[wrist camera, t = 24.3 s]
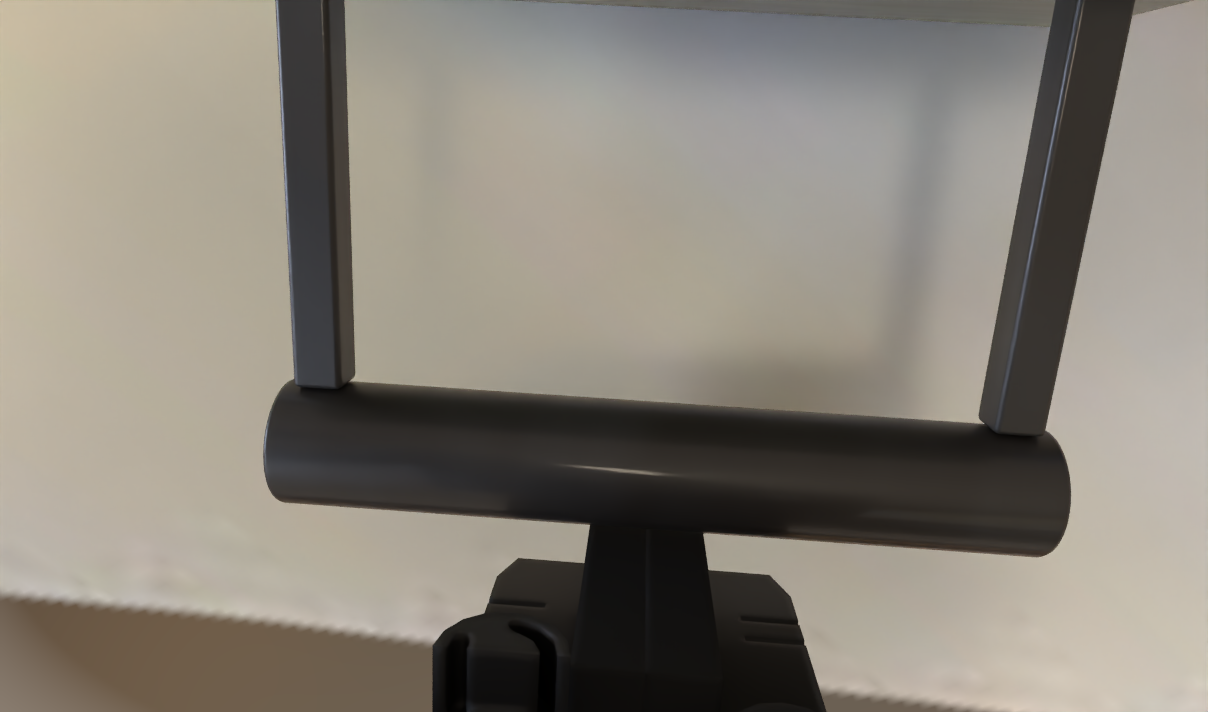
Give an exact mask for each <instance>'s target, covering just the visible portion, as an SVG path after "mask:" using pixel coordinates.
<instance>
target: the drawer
mask: <svg viewBox="0 0 1208 712" xmlns="http://www.w3.org/2000/svg"><path fill="white" fill-rule="evenodd" d="M275 1H276V21H277V41H278V61H279V81H280V101H281V121H282V141H283V161H284V181H285V201H286V221H287V241H288V261H289V281H290V301H291V321H292V341H293V361H294V379H293V380H291V381H289V382H287V383H286V384H285V385H284V386H283V387H282V388H281V390H280V391H279V393H278V395H277V396H276V398H275V400H274V403H273V405H272V408H271V411H270V414H269V417H268V421H267V426H266V431H265V438H264V452H263V459H264V472H265V477H266V481H267V485H268V487H269V490H270V491H271V493H272V495H273V496H274V497H275V498H276V499H278V500H279V501H281V502H285V503H298V504H312V505H326V506H340V507H353V508H367V509H381V510H395V511H408V512H422V513H436V514H450V515H463V516H477V517H491V518H505V519H518V520H532V521H546V522H559V523H573V524H587V525H601V526H614V527H628V528H642V529H656V530H669V531H683V532H697V533H711V534H724V535H738V536H752V537H766V538H779V539H793V540H807V541H820V542H834V543H848V544H862V545H875V546H889V547H903V548H917V549H930V550H944V551H958V552H972V553H985V554H999V555H1013V556H1027V557H1042V556H1045V555H1047V554H1049V553H1051V552H1052V551H1053V550H1054V549H1055V548H1056V547H1057V546H1058V544H1059V543H1060V541H1061V539H1062V537H1063V535H1064V532H1065V530H1066V527H1067V523H1068V519H1069V513H1070V505H1071V484H1070V476H1069V470H1068V466H1067V462H1066V459H1065V456H1064V453H1063V451H1062V449H1061V447H1060V445H1059V444H1058V442H1057V440H1056V439H1055V438H1054V437H1053V436H1052V435H1051V434H1050V433H1049V432H1047V431H1045V428H1046V424H1047V419H1048V414H1049V409H1050V405H1051V400H1052V395H1053V390H1054V385H1055V381H1056V376H1057V371H1058V366H1059V362H1060V357H1061V352H1062V347H1063V343H1064V338H1065V333H1066V328H1067V324H1068V319H1069V314H1070V309H1071V304H1072V300H1073V295H1074V290H1075V285H1076V281H1077V276H1078V271H1079V266H1080V262H1081V257H1082V252H1083V247H1084V242H1085V238H1086V233H1087V228H1088V223H1089V219H1090V214H1091V209H1092V204H1093V200H1094V195H1095V190H1096V185H1097V180H1098V176H1099V171H1100V166H1101V161H1102V157H1103V152H1104V147H1105V142H1106V138H1107V133H1108V128H1109V123H1110V119H1111V114H1112V109H1113V104H1114V99H1115V95H1116V90H1117V85H1118V80H1119V76H1120V71H1121V66H1122V61H1123V57H1124V52H1125V47H1126V42H1127V37H1128V33H1129V28H1130V23H1131V18H1132V15H1136V14H1140V13H1144V12H1148V11H1152V10H1156V9H1160V8H1164V7H1168V6H1172V5H1176V4H1181V3H1185V2H1189V1H1193V0H516V1H536V2H556V3H576V4H596V5H617V6H637V7H657V8H677V9H698V10H718V11H738V12H758V13H778V14H799V15H819V16H839V17H859V18H879V19H900V20H920V21H940V22H960V23H980V24H1001V25H1021V26H1041V27H1050V33H1049V38H1048V43H1047V49H1046V54H1045V60H1044V65H1043V70H1042V76H1041V81H1040V87H1039V92H1038V97H1037V103H1036V108H1035V113H1034V119H1033V124H1032V130H1031V135H1030V140H1029V146H1028V151H1027V157H1026V162H1025V167H1024V173H1023V178H1022V183H1021V189H1020V194H1019V200H1018V205H1017V210H1016V216H1015V221H1014V227H1013V232H1012V237H1011V243H1010V248H1009V254H1008V259H1007V264H1006V270H1005V275H1004V280H1003V286H1002V291H1001V297H1000V302H999V307H998V313H997V318H996V324H995V329H994V334H993V340H992V345H991V350H990V356H989V361H988V367H987V372H986V377H985V383H984V388H983V394H982V399H981V404H980V410H979V419H980V420H981V421H982V422H983V423H984V424H978V423H963V422H948V421H933V420H918V419H903V418H889V417H874V416H859V415H844V414H829V413H814V412H799V411H784V410H769V409H754V408H740V407H725V406H710V405H695V404H680V403H665V402H650V401H635V400H620V399H605V398H590V397H576V396H561V395H546V394H531V393H516V392H501V391H486V390H471V389H456V388H441V387H427V386H412V385H397V384H382V383H367V382H352V381H350V380H351V379H352V378H354V375H355V349H354V315H353V280H352V246H351V212H350V177H349V143H348V109H347V74H346V40H345V6H344V0H275Z"/></svg>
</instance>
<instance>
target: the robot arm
mask: <svg viewBox="0 0 1208 712" xmlns="http://www.w3.org/2000/svg"><path fill="white" fill-rule="evenodd" d="M433 712H826V709H825V706H824V702H823V699H822V696H821V693H820V690H819V686H818V683H817V680H816V677H815V673H814V670H813V667H812V664H811V661H810V657H809V654H808V651H807V648H806V646H804V638H803V635H802V632H801V629H800V625H798V619H797V616H796V612H795V609H794V606H793V603H792V600H791V597H790V596H789V595H788V594H787V593H786V592H785V591H784V589H783V588H782V587H781V586H780V585H779V584H778V583H777V582H776V581H775V580H774V579H773V578H772V577H771V576H770V575H762V574H749V573H736V572H723V571H711V570H708V565H707V558H706V551H705V544H704V537H703V533H697V532H683V531H669V530H656V529H642V528H628V527H614V526H601V525H590V530H589V537H588V543H587V550H586V557H585V563H574V562H561V561H548V560H535V559H522V558H518V559H517V560H516V561H514V562H513V563H512V564H511V565H510V566H509V567H507V568H506V569H505V570H504V571H503V572H502V573H500V574H499V575H498V576H497V578H496V581H495V584H494V587H493V590H492V593H491V596H490V599H489V603H488V605H487V608H486V611H485V614H481V615H477V616H474V617H470V618H466V619H463V620H461V621H460V622H458V623H456V624H455V625H453V626H451V627H450V628H448V629H446V630H445V631H444V632H443V633H442V634H441V636H440V637H439V638H438V640H437V641H436V642H435V643H434V645H433Z"/></svg>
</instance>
